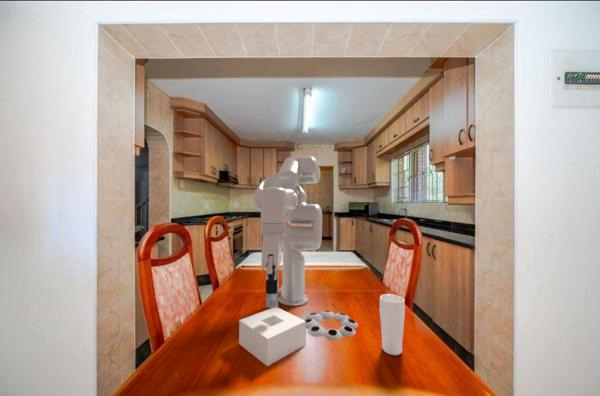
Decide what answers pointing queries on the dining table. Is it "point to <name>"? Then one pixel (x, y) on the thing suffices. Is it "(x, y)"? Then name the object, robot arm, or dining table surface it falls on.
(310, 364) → the dining table surface
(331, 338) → the round palette
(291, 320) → the socket block
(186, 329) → the dining table surface
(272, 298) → the pin
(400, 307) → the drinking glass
